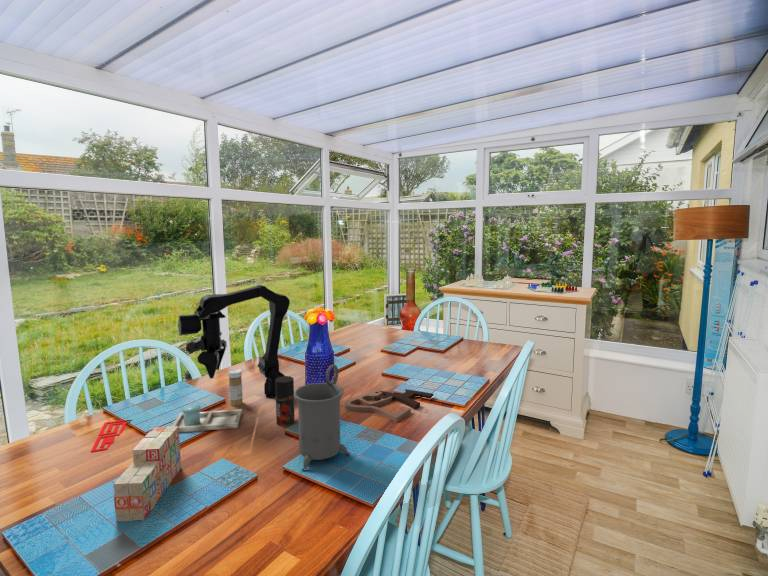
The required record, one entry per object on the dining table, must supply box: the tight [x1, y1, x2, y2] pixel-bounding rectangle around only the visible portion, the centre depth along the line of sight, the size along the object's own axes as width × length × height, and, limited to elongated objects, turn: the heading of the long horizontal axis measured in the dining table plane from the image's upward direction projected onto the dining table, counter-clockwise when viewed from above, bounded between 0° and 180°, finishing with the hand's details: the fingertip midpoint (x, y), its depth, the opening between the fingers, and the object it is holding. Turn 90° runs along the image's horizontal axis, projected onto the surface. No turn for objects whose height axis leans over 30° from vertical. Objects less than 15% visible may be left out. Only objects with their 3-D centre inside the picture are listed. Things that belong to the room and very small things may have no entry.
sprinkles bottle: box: [227, 368, 243, 407], centre depth 155 cm, size 5×5×13 cm
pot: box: [181, 403, 201, 426], centre depth 139 cm, size 5×5×6 cm
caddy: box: [171, 408, 243, 433], centre depth 141 cm, size 20×11×2 cm, turn 101°
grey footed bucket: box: [294, 364, 351, 471], centre depth 121 cm, size 19×15×25 cm
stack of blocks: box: [113, 425, 182, 522], centre depth 105 cm, size 21×6×12 cm, turn 5°
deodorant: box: [275, 375, 296, 427], centre depth 142 cm, size 6×6×15 cm
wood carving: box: [342, 388, 435, 423], centre depth 160 cm, size 28×2×24 cm
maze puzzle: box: [90, 419, 128, 453], centre depth 137 cm, size 20×20×1 cm
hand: (214, 373), depth 153 cm, fingers open, 9 cm apart
